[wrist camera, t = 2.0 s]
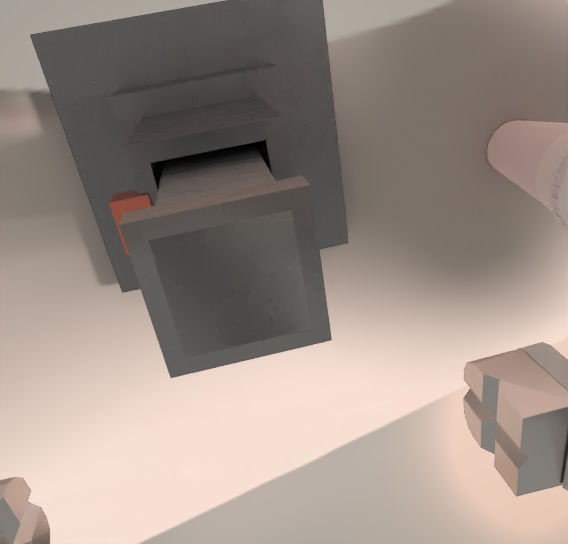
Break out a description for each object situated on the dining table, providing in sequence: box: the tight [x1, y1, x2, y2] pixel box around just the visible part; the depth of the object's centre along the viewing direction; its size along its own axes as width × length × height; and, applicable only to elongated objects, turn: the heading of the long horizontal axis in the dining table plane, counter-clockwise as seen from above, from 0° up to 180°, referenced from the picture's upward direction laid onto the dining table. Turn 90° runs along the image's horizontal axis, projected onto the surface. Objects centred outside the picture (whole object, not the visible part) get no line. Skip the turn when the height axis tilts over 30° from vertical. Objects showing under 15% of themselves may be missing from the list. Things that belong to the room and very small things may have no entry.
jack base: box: [30, 0, 348, 293], centre depth 26 cm, size 16×16×12 cm
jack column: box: [119, 143, 332, 378], centre depth 22 cm, size 5×5×18 cm
